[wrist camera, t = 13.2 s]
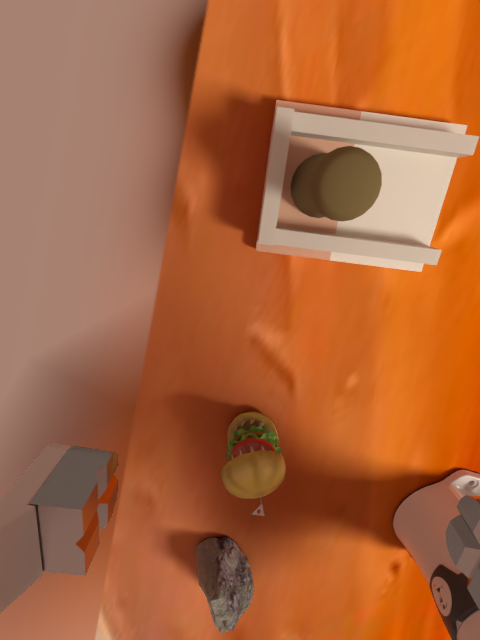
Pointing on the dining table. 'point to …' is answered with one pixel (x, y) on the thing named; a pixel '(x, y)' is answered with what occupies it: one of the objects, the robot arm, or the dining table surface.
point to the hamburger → (253, 458)
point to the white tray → (395, 194)
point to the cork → (337, 184)
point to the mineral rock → (224, 580)
